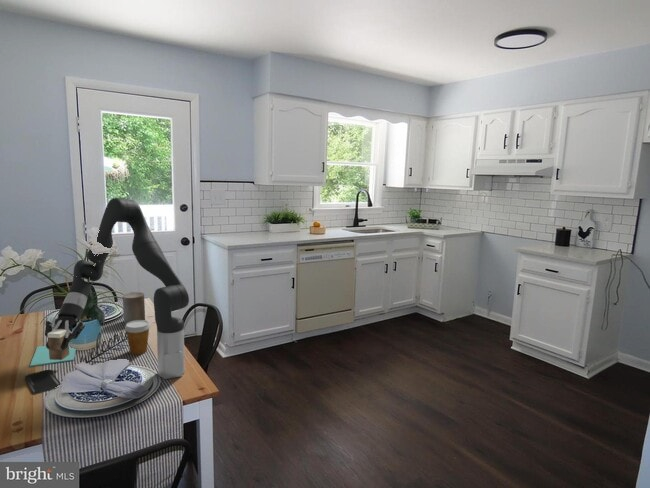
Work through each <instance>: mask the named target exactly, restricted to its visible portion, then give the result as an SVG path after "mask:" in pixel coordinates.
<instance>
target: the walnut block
mask: <svg viewBox="0 0 650 488" xmlns="http://www.w3.org/2000/svg"><path fill="white" fill-rule="evenodd" d="M52 330H53V329H52ZM65 334H66V330H65V329H57V330H53V331H51V332H49V333H48V337H47V341H48V346H49V358H50V360H63V359H64V358H65V357H67V356H68V355H70V354H69V344H68V347H67V348H65V350H62V349H61V348H60V347H61V345H62V342H63V340H64V338H65Z"/></svg>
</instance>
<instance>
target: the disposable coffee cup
mask: <svg viewBox="0 0 650 488" xmlns="http://www.w3.org/2000/svg"><path fill="white" fill-rule="evenodd" d="M150 328H151V324H150V321H148V320H146V319H145V320H136V321H131V322H129V323H127V324H125V327H124V330H125V332H126V336H127V341H128V348H129V353H130V354H131V355H136V356H137V355H142V354H145V353H146V352H147V351H148V345H149V344H148V343H149V334H150Z"/></svg>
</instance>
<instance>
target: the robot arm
mask: <svg viewBox="0 0 650 488" xmlns="http://www.w3.org/2000/svg"><path fill="white" fill-rule="evenodd" d="M117 223H126V224H128V225H129V227H130V228H131V230H132V232H133V238H132V242H131V244H132V245H131V250H132V253H133V255H134V257H135V258H136V260H137V261H136V262H138V264H139V265H140V267H141V268H142V269H144V270H145V271H146V272H148V273H150V274H151V275H153V276H155V277H156V278H158V280H160V282H162V283H163V284H164V287H160V288H157V289H156V290H155V291H154V294H153V309H154V310H153V311H154V319H155V325H156V336H157V337H156V342H157V343H156V344H157V345H156V347H157V375H158V376H159V377H161V378H162V379H163V380H167V379H169V380H170V379H174V378H180V377H182V376H183V374H184V373H185V323H184V320H183V319H182V318H180V317H175V316H172V312H175V311H178V310H182V309H186V307H188V306H189V303H190V297H189V294H188V291H187V289H186V287H185V285H184V284H183V282H182V281H181V280H180V278H179V277H178V275H176V273H175V271H174V270H173V268H172V267H171V265H170V263H169V262H168V260H167V258H166V257H165V254H164V252H163V250H162V248H161V246H160V245H159V244H158V242H157V240H156V238H155V236H154V234H153V232H152V231H151V229H150V227H149V225H148V223H147V221H146V218H145V216H144V214H143V211H142V208H141V207H140V205H139V204H138V202H137V201H135V200H134V199H128V198H122V197H121V198H120V197H113V198H111V199H110V200H109V201H108V202H107V204H106V207H105V209H104V213H103V215H102V219H101V222H100V224H99V227H98V231H99V230H100V231H99V233H98V232H97V233H98V237H97V242H99V243H101V244H102V245H103V246H104V247H107V248H111V247H112V248H113V246H112V245H114V240H113V239H114V238H113V233H112V231H113V228H114V227H115V225H116V224H117ZM94 255H95V254H93V253H92V251H91V250H90V248H89V249H88V251H87V253H86V257H87V260H86V259H80V260H78V261H77V262H76V263H75V264H74V267H73V275H74V276H72V277H73V278H72V282H71V283H72V284H71V286H70V288H69V290H68V293H67V294H66V296H65V298H64V300H63V302H62V305H61V307H60V309H59V312H58V314H57V318H56V319H55V320H54V321H50V320H48V321H46V323H45V328H44V329H45V331H44V336H45V337H46V338H48V333H49V332H51V331H53V330H57V329H65V330H66V334H65V338H64V340H63V342H62V345H61V347H60V348H61V349H62V350H65V348H67V347H68V344H69V343H71V342H70V341H72V340H76V339H77V338H78V337H79V336H80V335H81V333H82V332H83V330H84V329H85V327H86V325H85V324H84V323H83V322H82V321H80V319H81V317H82V315H83V313H84V310H85V308H86V305H87V301H88V298H89V296H90V293H91V291H92V284H90V283H89V282H88V281H91V282H97V281H99V280H101V278H102V276H103V273H104V266H105V262H106V260H107V258H108V256H109V255H110V253H103V254H99V255H98V254H96V255H95V256H94ZM97 255H98V256H97ZM88 260H89V261H88ZM99 261H100V262H99ZM95 263H96V266H95V267H94V266H93V265H94V264H95ZM91 272H92V273H91ZM76 276H77V277H76ZM89 277H90V280H89ZM85 280H87V281H85ZM45 346H46V348H47V349H49V346H48V340H47V341H46V344H45Z"/></svg>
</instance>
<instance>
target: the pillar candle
mask: <svg viewBox="0 0 650 488" xmlns="http://www.w3.org/2000/svg"><path fill="white" fill-rule="evenodd" d="M145 305H146V303H145V293H144V292H142V291H141V292H140V291H133V292H128V293H124V294H123V295H122V309H123V310H122V311H123V312H122V314H123V323H124V325H126V324H127V323H129V322H131V321H136V320H146V308H145Z"/></svg>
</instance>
